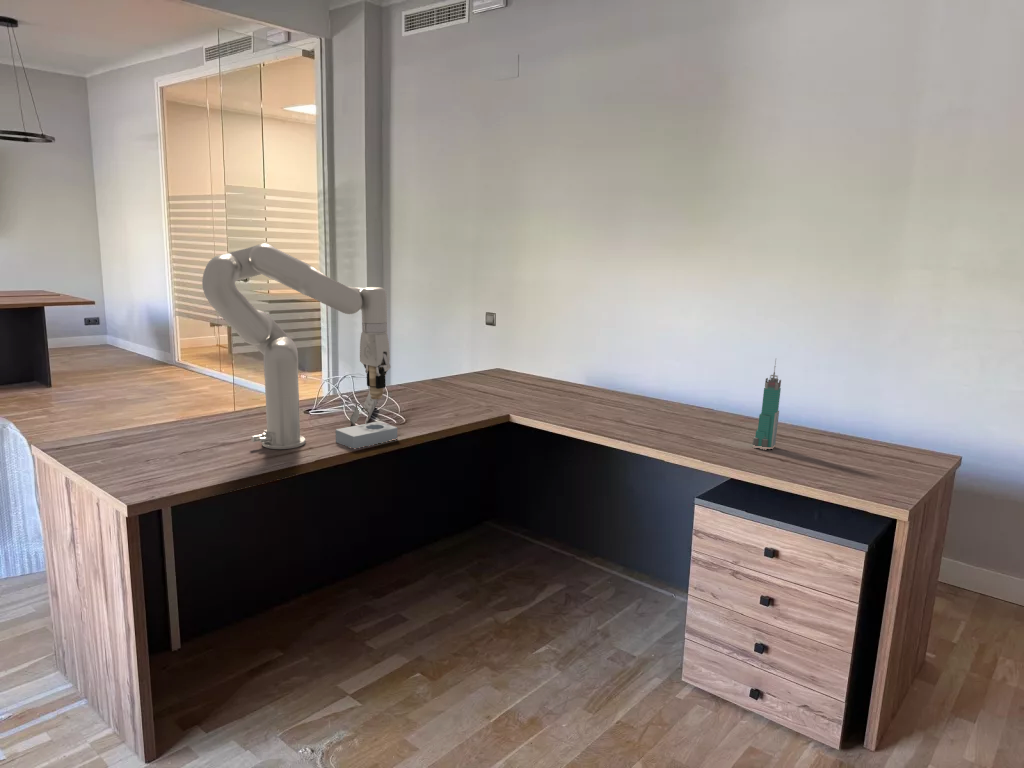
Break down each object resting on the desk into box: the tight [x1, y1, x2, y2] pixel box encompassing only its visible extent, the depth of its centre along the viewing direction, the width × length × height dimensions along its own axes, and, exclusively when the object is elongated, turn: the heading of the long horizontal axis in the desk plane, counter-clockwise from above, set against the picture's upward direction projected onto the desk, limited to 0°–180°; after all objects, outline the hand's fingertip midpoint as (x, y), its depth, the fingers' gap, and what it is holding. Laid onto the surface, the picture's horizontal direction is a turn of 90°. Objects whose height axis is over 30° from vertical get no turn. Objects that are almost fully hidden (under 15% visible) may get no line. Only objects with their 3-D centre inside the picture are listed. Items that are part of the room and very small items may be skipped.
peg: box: [368, 363, 384, 400], centre depth 218 cm, size 4×4×12 cm
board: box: [335, 420, 398, 449], centre depth 219 cm, size 16×10×4 cm, turn 135°
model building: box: [349, 391, 378, 426], centre depth 248 cm, size 7×7×25 cm
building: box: [752, 359, 782, 447], centre depth 224 cm, size 6×6×30 cm
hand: (376, 386), depth 218 cm, fingers closed on peg, 4 cm apart
